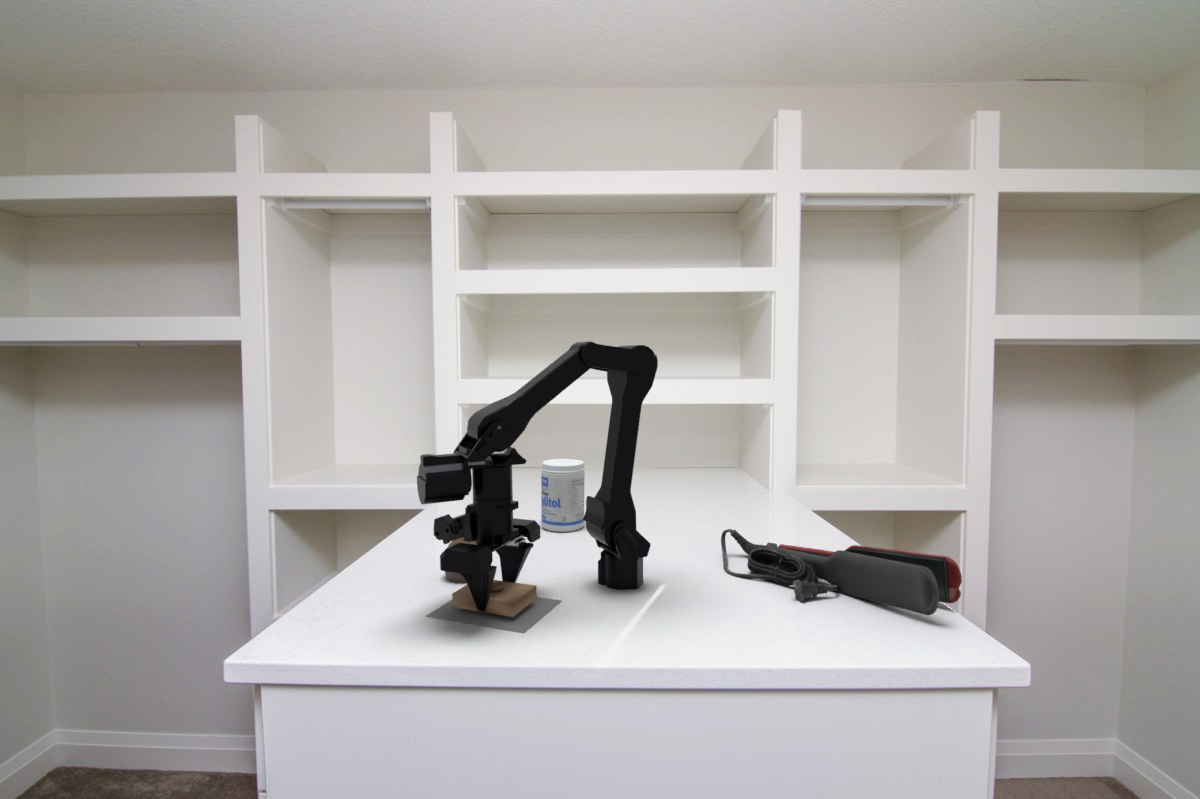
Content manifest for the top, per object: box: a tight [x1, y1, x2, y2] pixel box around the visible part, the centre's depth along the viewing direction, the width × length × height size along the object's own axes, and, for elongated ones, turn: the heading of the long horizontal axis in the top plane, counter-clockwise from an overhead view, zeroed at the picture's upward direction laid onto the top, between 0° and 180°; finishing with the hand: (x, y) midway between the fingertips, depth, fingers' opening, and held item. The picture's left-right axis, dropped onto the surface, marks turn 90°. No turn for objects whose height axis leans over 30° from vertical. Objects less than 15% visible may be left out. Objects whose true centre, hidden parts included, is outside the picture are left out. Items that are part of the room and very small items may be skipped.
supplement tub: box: [540, 458, 586, 533], centre depth 140 cm, size 10×10×15 cm
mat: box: [425, 596, 563, 634], centre depth 93 cm, size 16×12×1 cm
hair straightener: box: [720, 528, 963, 616], centre depth 103 cm, size 16×40×8 cm, turn 40°
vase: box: [444, 537, 477, 583], centre depth 106 cm, size 7×7×9 cm
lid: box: [451, 579, 538, 617], centre depth 93 cm, size 10×7×3 cm
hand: (495, 601), depth 93 cm, fingers closed on lid, 7 cm apart
